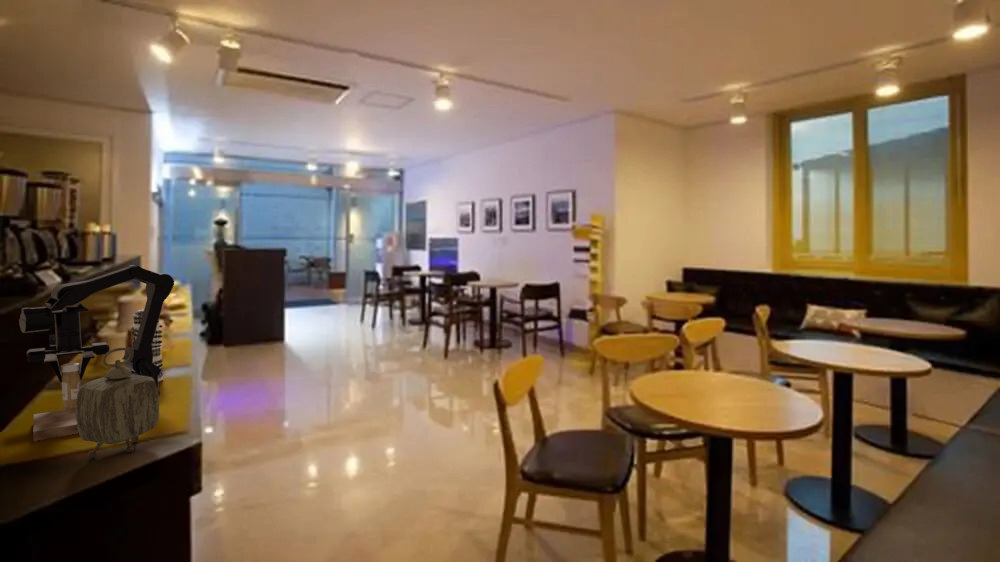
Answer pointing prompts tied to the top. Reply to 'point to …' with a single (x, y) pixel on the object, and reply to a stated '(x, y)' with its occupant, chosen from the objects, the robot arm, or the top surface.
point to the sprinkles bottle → (70, 384)
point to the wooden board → (55, 424)
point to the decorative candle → (155, 343)
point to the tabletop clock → (117, 406)
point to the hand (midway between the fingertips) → (71, 380)
